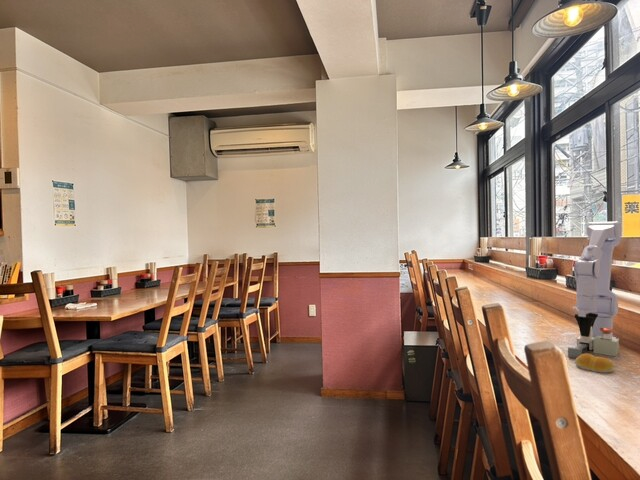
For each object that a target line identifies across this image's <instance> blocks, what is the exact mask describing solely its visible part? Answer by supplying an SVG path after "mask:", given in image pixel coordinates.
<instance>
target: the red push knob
mask: <svg viewBox="0 0 640 480" xmlns="http://www.w3.org/2000/svg"><path fill="white" fill-rule="evenodd" d="M600 331H602V339H604V340H611V332H614V330H613V329H610V328H600Z"/></svg>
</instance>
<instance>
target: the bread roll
mask: <svg viewBox="0 0 640 480" xmlns="http://www.w3.org/2000/svg"><path fill="white" fill-rule="evenodd" d="M575 366H576V367H578V368H580V369H583V370H585V371H586V370H587V371H592V372H595V373H601V374H602V373H603V374H605V373H606V374H607V373H613V372H614V371H615V365H614V362H613V361H612V360H610V359H609V358H608V357H607V358H606V357H604V356H595V355H593V354H591V353H586V352H585V353H584V354H581V355H580V356H579V357H578V358H576V359H575Z"/></svg>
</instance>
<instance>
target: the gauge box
mask: <svg viewBox="0 0 640 480" xmlns="http://www.w3.org/2000/svg"><path fill="white" fill-rule="evenodd" d="M593 353H594V354H599V355H605V356H612V357H617V356H618V354H619V353H620V338H617V337H616V338H611V340H604V339H602V336H596V337H595V338H594V349H593Z"/></svg>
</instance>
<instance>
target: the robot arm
mask: <svg viewBox="0 0 640 480" xmlns="http://www.w3.org/2000/svg"><path fill="white" fill-rule="evenodd" d="M586 235H587V238H588V240H589V242H588V245H586V246H585V247H584V248H583V250H582V253H581V255H580V257H579V260H577V261H575V262H574V265H573V273H574V280H575V282H576V306H572V310H574V311H575V310H576V311H577V313H575V314H574V318H575V320H576V323H577V324H578V329H579V334H580V333H581V336H585V337H589V334H590V329H591V326H592V336H595V337H596V336H602V331H600V328H610V329H613V328H614V327H613V323H614V322H613V317H615V316H617V315H618V313H619V297H618V295H617V294H616V293H614V292H613V291H612V290H610V287H611V277H612V276H611V275H612V265H613V253H614V249H615V247H618V246H619V245H620V243H621V237H622V225H621V223H620V222H619V221H618V220H616V221H590V222H588V223H587V225H586ZM613 332H614V331H613ZM613 332H611V338H616V339H617V337H615V336H613Z"/></svg>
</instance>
